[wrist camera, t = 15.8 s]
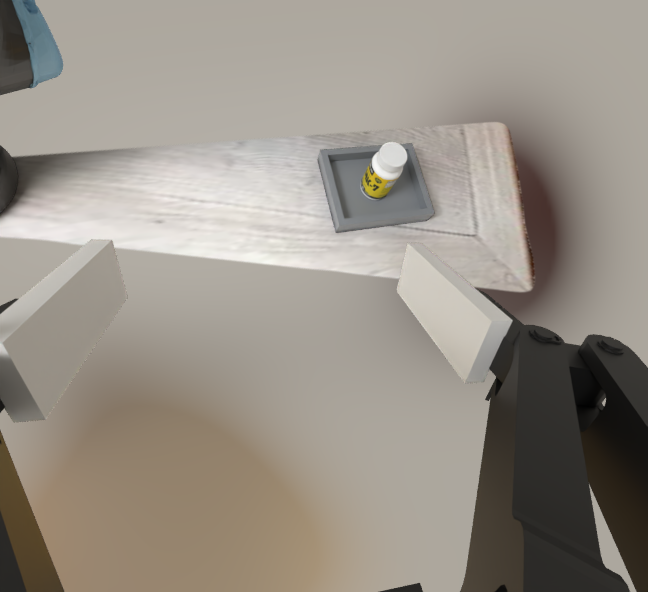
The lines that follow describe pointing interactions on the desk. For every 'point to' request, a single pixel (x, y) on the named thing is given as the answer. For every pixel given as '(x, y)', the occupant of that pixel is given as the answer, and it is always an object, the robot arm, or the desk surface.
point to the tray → (361, 212)
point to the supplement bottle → (383, 171)
